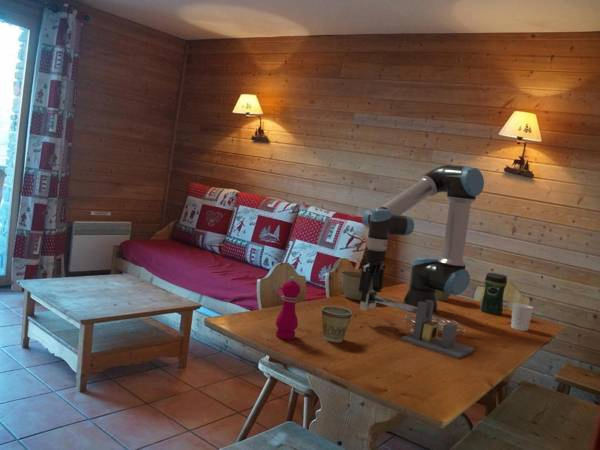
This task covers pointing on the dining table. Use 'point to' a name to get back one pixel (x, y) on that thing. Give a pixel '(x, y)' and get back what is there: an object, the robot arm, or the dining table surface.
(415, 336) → the shaft stand
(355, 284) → the planter bowl
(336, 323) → the ceramic cup
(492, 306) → the coffee jar
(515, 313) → the white cup
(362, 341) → the dining table surface
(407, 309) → the shaft
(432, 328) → the spacer
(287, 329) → the pepper mill
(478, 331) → the dining table surface
